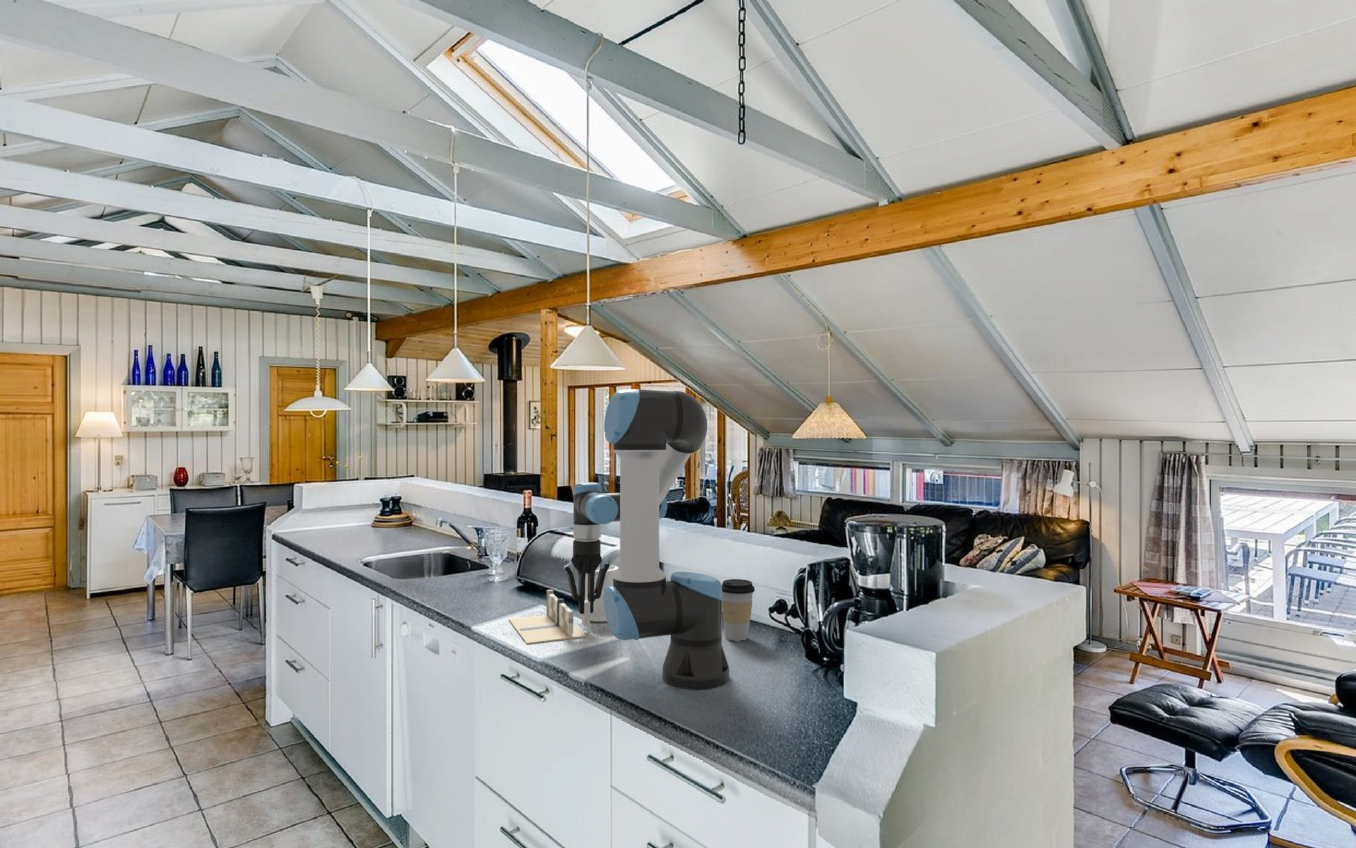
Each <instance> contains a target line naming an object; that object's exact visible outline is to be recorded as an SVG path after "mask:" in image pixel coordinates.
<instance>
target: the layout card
mask: <svg viewBox="0 0 1356 848" xmlns="http://www.w3.org/2000/svg"><path fill="white" fill-rule="evenodd" d="M508 621H509V623H510V624H511V625H512V626H513V628H514V630H515V631H516V632H517V633H518V635H519V636H520V637H521V639H522V640H523V641H524V642H525V643H524V644H526V645H532V644H540V643H541V644H542V643H550V642H558V641H565V640H566V641H567V640H572V639H573V640H575V639H581V638H582V639H583V638H587V634H585V633H584V632H583V631H582V630H581V629H580V628H579V627H578V626H576V624H575V623H574V622H573V634H571V635H569V634H568V633H567V632H566V631H565V630H564V629H563V628H562V627H561V626H556V623H555V622H554V620H553V619H552V618H551V617H550V616H549V615H547V614H544V615H543V614H541V615H532V616H524V617H523V616H522V617H515V618H514V617H513V618H508Z"/></svg>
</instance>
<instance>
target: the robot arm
mask: <svg viewBox="0 0 1356 848" xmlns="http://www.w3.org/2000/svg"><path fill="white" fill-rule="evenodd" d="M604 415H605V416H604V424H603V431H604V437H605V440H606V441H607V442H608V443H609V444H613V447H612V450H613V453H614V454H615V455H616V456H617V457H618V458H619V464H620V465H619V466H620V467H619V468H620V469H619V474H620V475H619V484H620V485H619V487H620V488H619V489H620V490H619V491H620V492H605V493H603V492H602V485H601V484H600V483H599V482H590V481H588V482H587V481H585V482H576V484H574V486H573V494H572V497H573V507H572V508H573V510H572V511H573V514H572V516H573V517H572V518H573V522H572V525H573V527H572V532H573V533H572V534H573V535H572V538H573V539H574V540H573V541H572V557H571V559H570V562H569V563H568V564H564V565H563V567H562V569H563V570H564V572H565V573H566V577H567V580H568V586H569V589H570V594H571V599H573V600H574V601H576V602H578V613H579V614H580V615H581V625H582V626H583V627H585V628H586V627H591V621H590V613H593V608H594V601H595V600H596V599H599V598H600V596H601V592H602V588H603V584H604V580H605V575H606V572H607V570H608V569H609V567H610V565H611V564H610V563H608V562H607V561H605V560H603V557H602V556H601V550H602V549H601V543H602V542H601V540H600V538H601V536H602V535H601V534H602V531H601V529H602V525H608V524H610V523H614V522H615V523H616V522H620V523H619V568H618V569H619V570H618V571H617V572H616V573H615V574H614V575H613V585H609V586H608V587H606V588H605V591H604V610H605V615H606V619H607V621H606V622H607V625H608V627H609V630H610V632H611V633H612V635H613V636H614V637H615V638H616V639H618V640H620V641H627V640H629V641H630V640H634V641H638V640H641V639H648V638H656V637H665V636H670V643H669V646H668V649H667V652H666V655H665V658H664V661H663V664H662V668H661V669H662V670H661V671H662V676H661V677H662V680H663V681H664V682H665V683H668V684H669V685H671V686H673V687H678V688H681V689H690V690H704V689H705V690H707V689H713V688H718V687H720V686H722V685H725V684H727V682H728V681H729V680H730V666H729V664H728V661H727V657H726V652H725V651H724V647H723V641H722V640H723V637H722V635H723V610H722V600H723V595H722V583H721V581H720V580H719V579H718V578H716V577H714V576H711V575H708V574H704V573H698V572H693V571H691V572H689V571H675V572H673V573H671V575H670V578H669V579H670V580H667V574H666V573H665V572H664V571H663V570H662V569H661V568H660V519H663V518H664V517H665V516H666V514H667V510H668V501H667V500H668V499H667V494H668V493H669V492H670V490H671V488H672V487H673V485H674V483H675V481H676V480H677V478H678V476H679V475H680V474H681V472H682V470H683V468H684V467H685V465H686V463H687V461H688V460H689V458H690V457H691V455H692V454H694V453H695V454H696V453H697V452H698V451H699V449H700V448H701V447H702V445H703V444H704V441H705V439H706V436H707V432H708V418H707V415H706V411H705V410H704V408H703V406H702V404H701V403H700V402H699V400H697V399H696V397H694V396H692V395H691V394H689V393H687V392H684V391H679V390H658V389H657V390H654V389H639V388H638V389H636V388H634V389H622V390H621V389H620V390H618V391H616V392H614V394H613V395H612V396H611V398H610V400H609V401H608V404H607V407H606V411H605V414H604ZM599 565H600V570H599V574H598V578H597V583H596V587H595V591H594V577H595V571H596V569H597V568H598V566H599ZM574 568H575V570H576V571H577V574H578V585H576V581H575V576H574V573H573V571H574ZM586 573H587V575H588V586H587V598H588V600H585V577H586ZM577 587H578V589H577Z"/></svg>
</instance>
